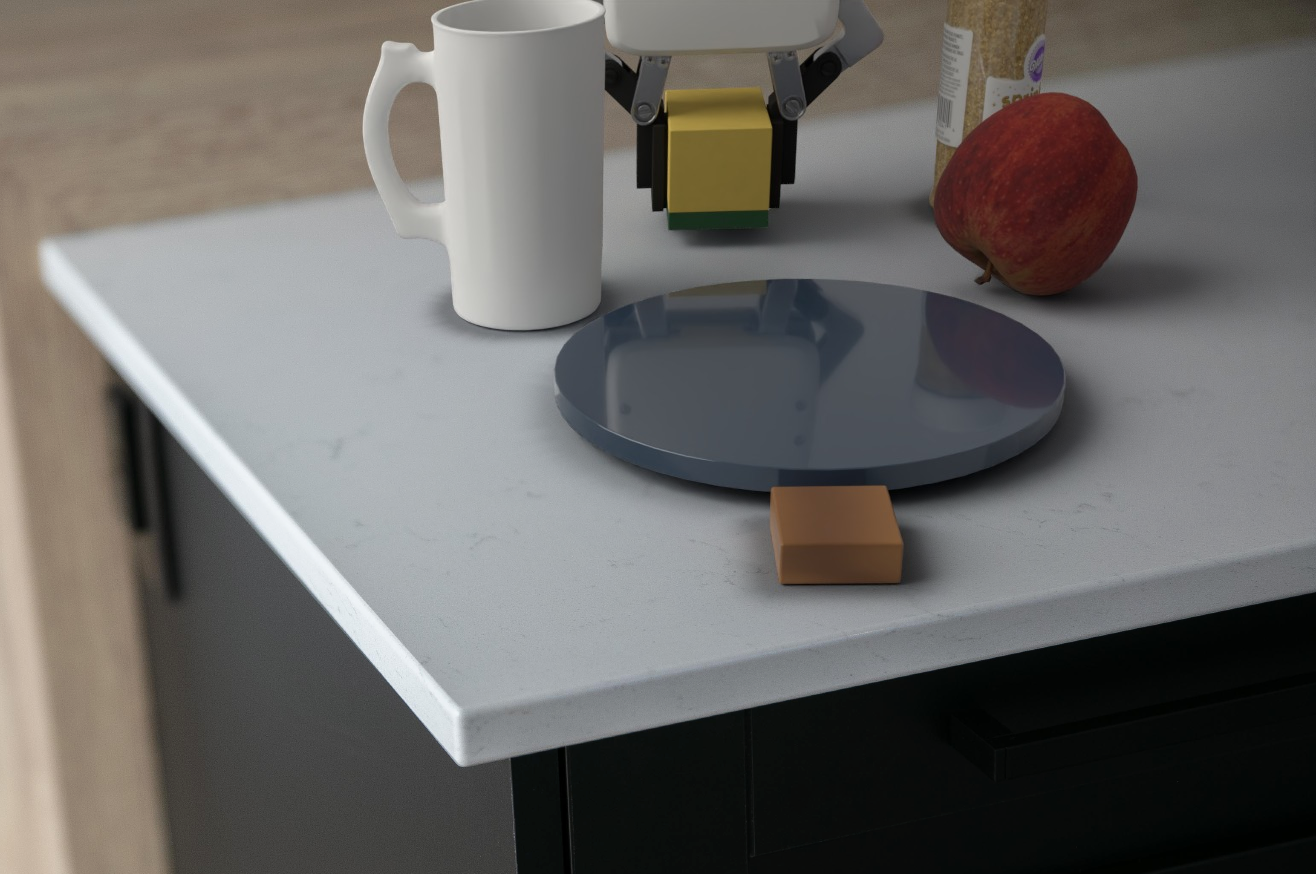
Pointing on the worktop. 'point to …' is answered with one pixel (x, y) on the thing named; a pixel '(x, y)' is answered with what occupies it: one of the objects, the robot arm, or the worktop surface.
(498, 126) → the mug
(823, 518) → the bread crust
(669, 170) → the sponge
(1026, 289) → the apple
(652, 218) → the worktop surface
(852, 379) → the plate
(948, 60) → the sprinkles bottle
